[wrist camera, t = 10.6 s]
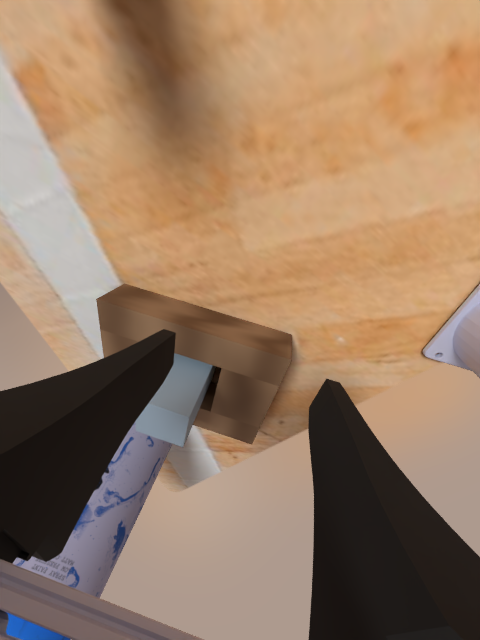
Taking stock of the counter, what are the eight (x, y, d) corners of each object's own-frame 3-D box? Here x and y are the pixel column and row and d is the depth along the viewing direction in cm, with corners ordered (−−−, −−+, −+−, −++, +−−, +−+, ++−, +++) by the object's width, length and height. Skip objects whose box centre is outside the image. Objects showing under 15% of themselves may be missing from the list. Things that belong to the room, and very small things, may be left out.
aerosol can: (164, 390, 27) (-49, 723, 10) (193, 431, 30) (67, 738, 13) (117, 397, 30) (-114, 670, 13) (148, 434, 33) (-5, 693, 16)
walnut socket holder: (291, 334, 20) (291, 360, 17) (256, 415, 26) (251, 444, 23) (124, 283, 21) (96, 299, 18) (129, 374, 27) (109, 396, 24)
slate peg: (220, 348, 22) (189, 417, 15) (213, 376, 24) (183, 447, 18) (182, 336, 22) (135, 398, 16) (178, 364, 25) (135, 430, 18)
